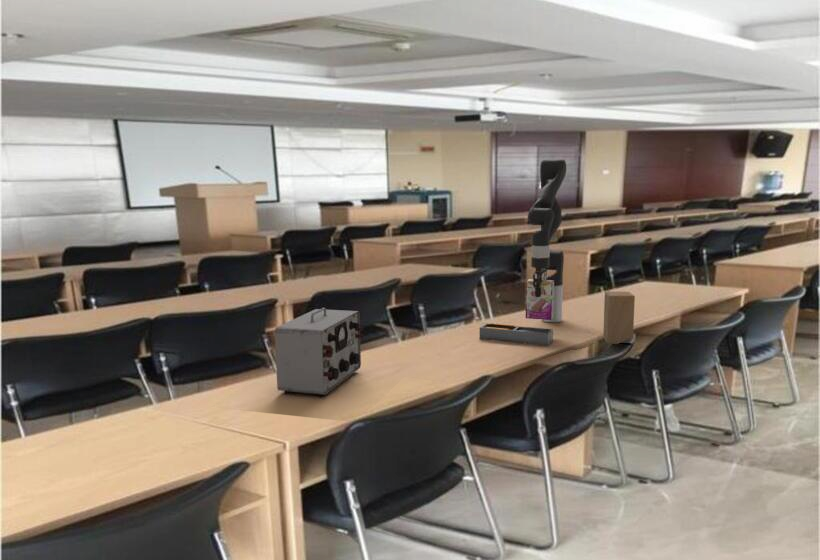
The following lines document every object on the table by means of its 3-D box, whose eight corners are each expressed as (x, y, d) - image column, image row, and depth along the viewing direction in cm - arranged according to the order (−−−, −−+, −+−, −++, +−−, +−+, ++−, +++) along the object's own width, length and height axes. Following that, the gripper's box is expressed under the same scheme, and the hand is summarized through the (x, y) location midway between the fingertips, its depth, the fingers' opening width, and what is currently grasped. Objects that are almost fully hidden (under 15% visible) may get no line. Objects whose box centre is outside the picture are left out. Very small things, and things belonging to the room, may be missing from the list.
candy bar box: (525, 318, 283) (525, 280, 280) (527, 316, 288) (527, 278, 285) (551, 320, 279) (552, 282, 277) (553, 317, 284) (554, 280, 281)
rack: (486, 334, 288) (486, 322, 287) (552, 341, 275) (553, 328, 274) (479, 339, 280) (479, 326, 279) (547, 345, 268) (548, 333, 267)
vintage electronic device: (330, 400, 207) (327, 322, 203) (277, 395, 212) (274, 318, 208) (366, 371, 237) (364, 302, 233) (319, 367, 242) (317, 300, 238)
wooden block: (627, 338, 278) (629, 291, 275) (633, 344, 268) (635, 295, 265) (603, 338, 279) (604, 291, 276) (607, 344, 269) (609, 295, 266)
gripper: (536, 253, 287) (535, 291, 290) (526, 257, 274) (526, 298, 277) (553, 254, 284) (552, 293, 287) (544, 258, 271) (544, 299, 274)
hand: (539, 295), depth 282 cm, fingers closed on candy bar box, 5 cm apart
